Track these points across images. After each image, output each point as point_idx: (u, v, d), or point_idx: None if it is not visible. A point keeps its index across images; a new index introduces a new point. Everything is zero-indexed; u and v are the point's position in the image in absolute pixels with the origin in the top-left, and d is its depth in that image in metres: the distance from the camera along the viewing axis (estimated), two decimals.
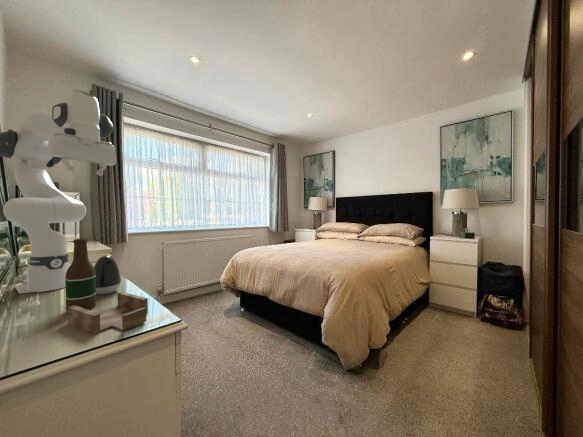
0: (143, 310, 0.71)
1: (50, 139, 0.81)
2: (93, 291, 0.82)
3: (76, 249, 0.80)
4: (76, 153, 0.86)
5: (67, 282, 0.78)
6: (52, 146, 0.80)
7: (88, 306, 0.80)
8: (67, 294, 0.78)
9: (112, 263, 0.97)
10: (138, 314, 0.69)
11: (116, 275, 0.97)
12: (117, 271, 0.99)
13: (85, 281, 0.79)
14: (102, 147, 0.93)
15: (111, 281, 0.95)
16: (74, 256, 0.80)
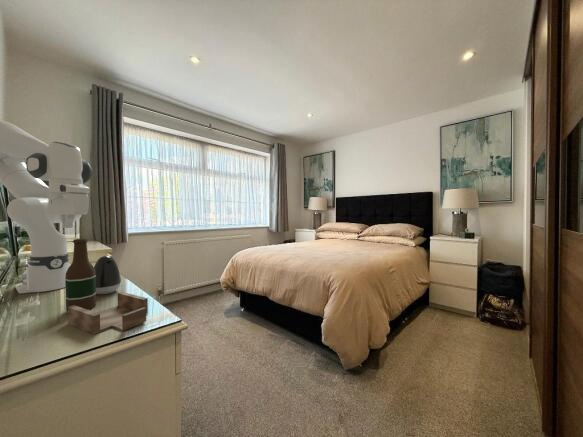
0: (143, 310, 0.71)
1: (78, 198, 0.80)
2: (93, 291, 0.82)
3: (76, 249, 0.80)
4: None
5: (67, 282, 0.78)
6: (86, 206, 0.82)
7: (88, 306, 0.80)
8: (67, 294, 0.78)
9: (112, 263, 0.97)
10: (138, 314, 0.69)
11: (116, 275, 0.97)
12: (117, 271, 0.99)
13: (85, 281, 0.79)
14: None
15: (111, 281, 0.95)
16: (73, 256, 0.80)
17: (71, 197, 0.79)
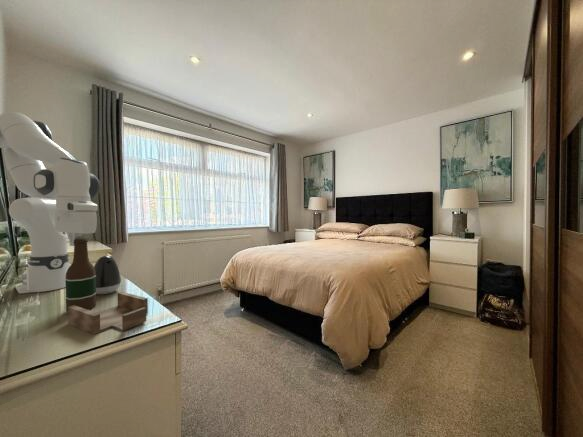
0: (143, 310, 0.71)
1: (86, 216, 0.77)
2: (93, 291, 0.82)
3: (76, 249, 0.80)
4: None
5: (67, 282, 0.78)
6: (94, 224, 0.79)
7: (88, 306, 0.80)
8: (67, 294, 0.78)
9: (112, 263, 0.97)
10: (138, 314, 0.69)
11: (116, 275, 0.97)
12: (117, 271, 0.99)
13: (85, 281, 0.79)
14: None
15: (111, 281, 0.95)
16: (74, 256, 0.80)
17: (79, 216, 0.76)
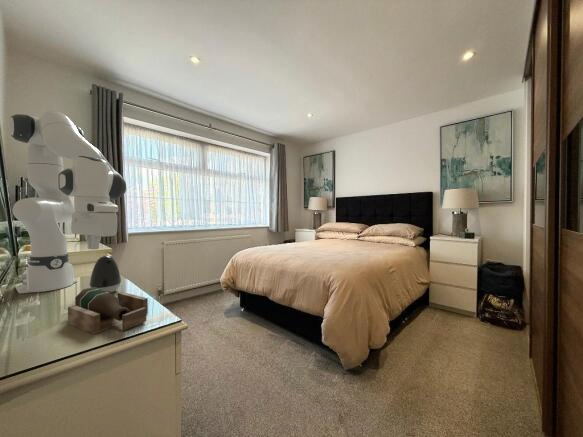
0: (143, 310, 0.71)
1: (107, 218, 0.73)
2: None
3: (112, 316, 0.68)
4: None
5: (87, 308, 0.72)
6: (114, 227, 0.74)
7: None
8: (81, 305, 0.74)
9: (112, 263, 0.97)
10: (138, 314, 0.69)
11: (116, 275, 0.97)
12: (117, 271, 0.99)
13: None
14: None
15: (111, 281, 0.95)
16: (107, 311, 0.69)
17: (100, 217, 0.71)
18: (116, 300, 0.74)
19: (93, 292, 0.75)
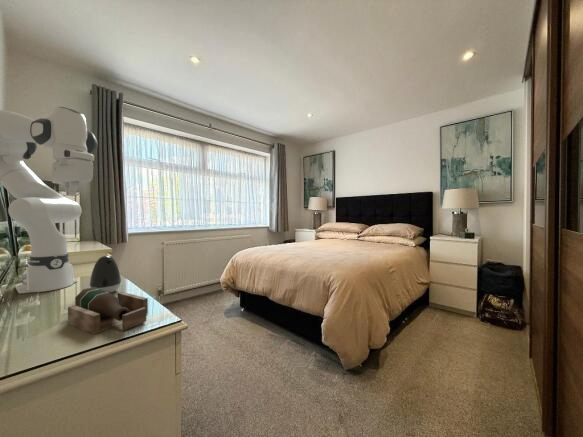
0: (143, 310, 0.71)
1: (83, 164, 0.78)
2: None
3: (112, 316, 0.68)
4: None
5: (87, 308, 0.72)
6: (90, 173, 0.80)
7: None
8: (81, 305, 0.74)
9: (112, 263, 0.97)
10: (138, 314, 0.69)
11: (116, 275, 0.97)
12: (117, 271, 0.99)
13: None
14: None
15: (111, 281, 0.95)
16: (107, 311, 0.69)
17: (75, 162, 0.77)
18: (116, 300, 0.74)
19: (93, 292, 0.75)
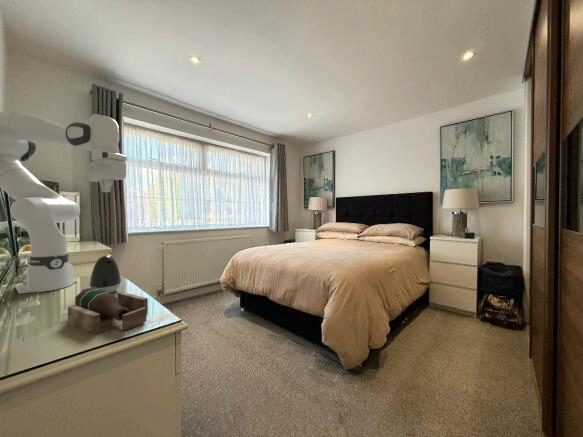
0: (143, 310, 0.71)
1: (118, 164, 0.90)
2: None
3: (112, 316, 0.68)
4: None
5: (87, 308, 0.72)
6: (124, 172, 0.92)
7: None
8: (81, 305, 0.74)
9: (112, 263, 0.97)
10: (138, 314, 0.69)
11: (116, 275, 0.97)
12: (117, 271, 0.99)
13: None
14: None
15: (111, 281, 0.95)
16: (107, 311, 0.69)
17: (112, 162, 0.89)
18: (116, 300, 0.74)
19: (93, 292, 0.75)
